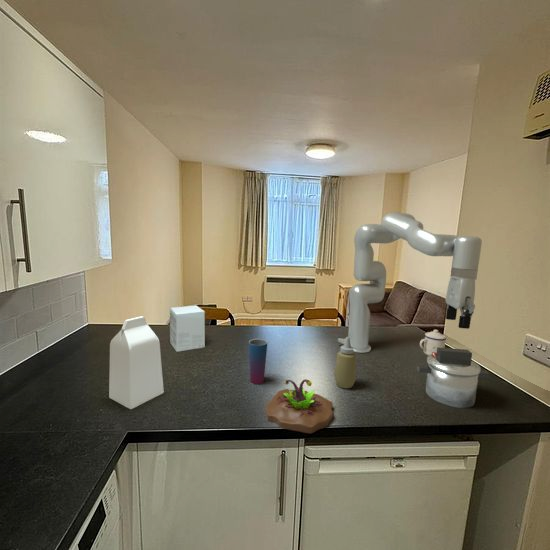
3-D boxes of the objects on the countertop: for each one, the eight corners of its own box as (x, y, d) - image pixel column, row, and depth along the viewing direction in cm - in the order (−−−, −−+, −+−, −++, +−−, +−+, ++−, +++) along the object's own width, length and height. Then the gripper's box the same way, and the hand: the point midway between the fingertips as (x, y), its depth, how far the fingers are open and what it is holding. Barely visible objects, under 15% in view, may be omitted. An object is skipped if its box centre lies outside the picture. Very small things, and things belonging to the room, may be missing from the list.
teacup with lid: (435, 349, 152) (438, 326, 150) (448, 357, 143) (451, 333, 142) (413, 350, 150) (415, 327, 149) (425, 358, 141) (427, 333, 140)
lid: (437, 374, 100) (439, 357, 99) (420, 354, 116) (421, 340, 115) (490, 378, 98) (492, 361, 97) (465, 358, 114) (467, 343, 113)
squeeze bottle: (343, 392, 108) (346, 343, 106) (328, 382, 115) (331, 335, 113) (360, 387, 112) (364, 339, 109) (345, 378, 119) (348, 333, 116)
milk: (130, 409, 94) (128, 326, 90) (109, 397, 100) (105, 319, 96) (163, 392, 104) (162, 317, 100) (142, 383, 110) (140, 311, 106)
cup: (268, 378, 116) (270, 340, 114) (262, 386, 110) (263, 346, 108) (252, 375, 118) (253, 337, 116) (244, 383, 112) (245, 343, 110)
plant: (320, 442, 82) (322, 403, 81) (256, 420, 91) (257, 385, 89) (339, 405, 100) (341, 373, 99) (284, 390, 109) (285, 360, 107)
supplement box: (196, 338, 156) (196, 304, 154) (205, 347, 145) (205, 311, 143) (169, 342, 149) (169, 307, 147) (176, 352, 138) (175, 314, 136)
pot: (423, 404, 102) (426, 372, 101) (409, 382, 117) (411, 354, 115) (496, 411, 100) (501, 378, 98) (472, 388, 114) (476, 359, 113)
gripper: (441, 269, 111) (435, 315, 114) (464, 277, 94) (456, 331, 97) (463, 271, 111) (456, 317, 113) (490, 278, 94) (482, 332, 96)
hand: (456, 323), depth 105 cm, fingers open, 9 cm apart
